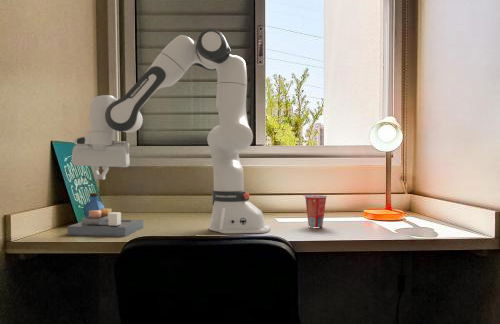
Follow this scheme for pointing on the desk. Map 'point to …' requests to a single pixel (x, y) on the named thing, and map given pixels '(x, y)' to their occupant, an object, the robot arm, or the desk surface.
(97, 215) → the push button
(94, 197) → the perfume bottle
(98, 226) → the console
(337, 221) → the desk surface
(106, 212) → the brass slider
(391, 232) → the desk surface
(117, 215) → the ivory slider
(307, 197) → the cup
